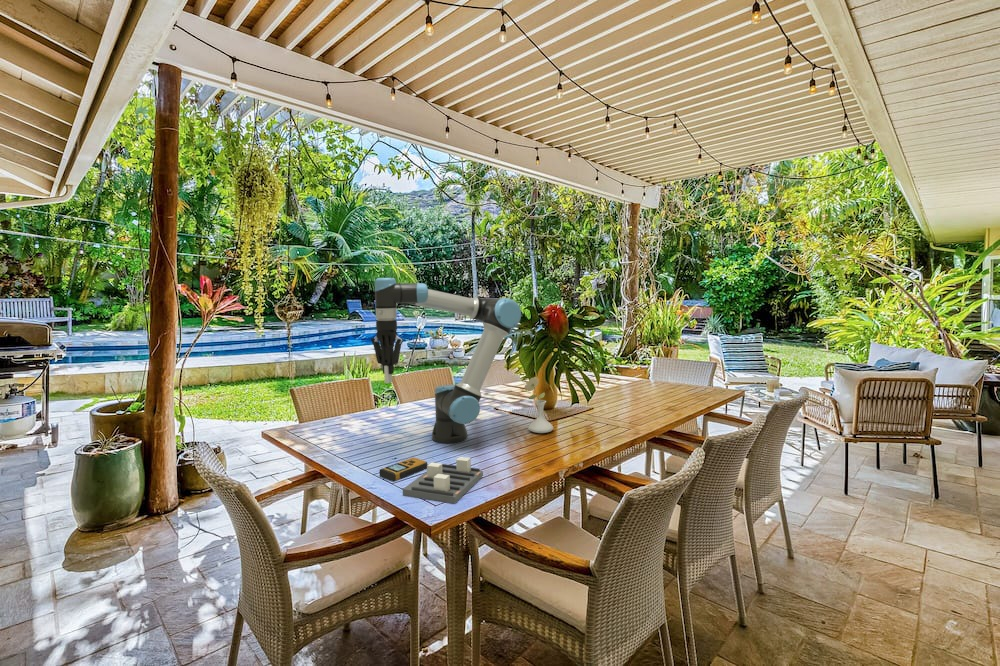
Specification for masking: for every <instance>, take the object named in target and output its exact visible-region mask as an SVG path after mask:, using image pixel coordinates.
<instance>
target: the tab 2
mask: <svg viewBox="0 0 1000 666" xmlns="http://www.w3.org/2000/svg"><path fill="white" fill-rule="evenodd" d="M434 490H440V491H446V492H447V491H449V490H450V475H444V474H437V475H436V476H434Z"/></svg>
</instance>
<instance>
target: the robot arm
mask: <svg viewBox="0 0 1000 666" xmlns="http://www.w3.org/2000/svg"><path fill="white" fill-rule="evenodd" d="M374 299H375V300H374V301H375V319H376V321H375V328H376V334H375V336H374V337H372V338H370V342H371V343H372V346H373V349H374V353H375V358H376V361H377V364H381V366H382V374H384V384H391V383H393V375H394V372H395V371H394V370H395V369H394V365H396V364H398V363H399V361H400V360H399V359H400V354H401V348H402V344H403V342H404V338H401V337H400V336H398V332H397V331H398V321H397V320H396V319H397V318H398V317H397V313H398V312H397V304H407V305H408V304H409V305H413V306H419V307H423V308H429V309H434V310H439V311H443V312H444V311H445V312H447V313H454V314H458V315H463V316H468V318H470V319H471V320H476V321H479V322H482V325H483V328H484V329H483V331H482V333H481V335H480V338H479V341H478V343H477V345H476V347H475V349H474V352H473V354H472V356H471V358H470V360H469V363H468V365H467V367H466V368H465V371H464V374H463V376H462V378H461V381H459V382H458V383H455V384H446V385H438V386H437V387H435V389H434V390H435V392H434V401H435V406H434V407H435V408H434V409H435V421H434V422H435V423H434V427H433V430H432V432H431V440H432V441H433V442H436V443H439V444H441V443H442V444H455V443H461V442H463V441H465V440H467V439H468V431H467V428H466V425H468V424H470V423H472V422H474V421H475V420H476V419H477V418H478V416H479V415H480V411H481V405H480V401H481V399H482V396H483V395H482V394H481V393H482V392H481V389H482V387H483V385H484V382H485V380H486V378H487V376H488V373H489V370H490V369H491V367H492V364H493V361H494V359H495V358H496V355H497V352H498V350H499V348H500V346H501V344H502V341H503V339H504V338H505V337H506V336H509V335H510V332H511V330H512V328H513V327H515V326H517V325H518V324H519V323H520V321H521V319H522V318H521V317H522V311H521V307H520V305H519V304H518V303H517V302H516V300H513V299H511V298H507V297H502V298H497V297H492V298H491V297H490V298H488V297H487V298H486V297H478V296H474V297H472V298H471V297H467V296H462V295H457V294H452V293H449V292H443V291H440V290H436V289H435V290H434V289H431V288H428V286H427V284H426V283H424V282H423V283H422V282H421V283H420V282H404V283H399V282H397V280H396V278H394V277H377V278H376V279H375V281H374Z"/></svg>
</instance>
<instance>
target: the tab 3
mask: <svg viewBox="0 0 1000 666" xmlns="http://www.w3.org/2000/svg"><path fill="white" fill-rule="evenodd" d="M455 461H456V463H455V464H456V465H455V466H456V471H461V472H468V473H469V472H470V471H471V468H472V463H471V462H472V459H471V457H465V456H459V457H458V458H456V459H455Z"/></svg>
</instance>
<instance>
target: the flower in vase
mask: <svg viewBox="0 0 1000 666" xmlns="http://www.w3.org/2000/svg"><path fill="white" fill-rule="evenodd" d="M539 381H540V379H539V377H537V376H534V377H531V378H530V379H528V381H526V384H525V385H524V391H526V392H531V391H533V390H534V393H535V394H532V395H530V396H529V398H528V400H534V402H535V404H536V405H537V418H535V419H534V420H533V421H532V422H531V423H530V424H529V425H528V427H527V429H528V430H529V431H531V432H533V433H536V434H537V433H538V434H546V433H549V432H552V431H553V430H554V426H553V424H552V423H550V421H548V420H547V419H546V418H545V416H544V407H545V405H546V403H547V400H544V399H543V398H544V397H545V395H546V393H545V391H544V392H542V393H540V394H539V395H538V394H537V391H536V387H537V386H538V385H539ZM536 398H537V400H535V399H536Z"/></svg>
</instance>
